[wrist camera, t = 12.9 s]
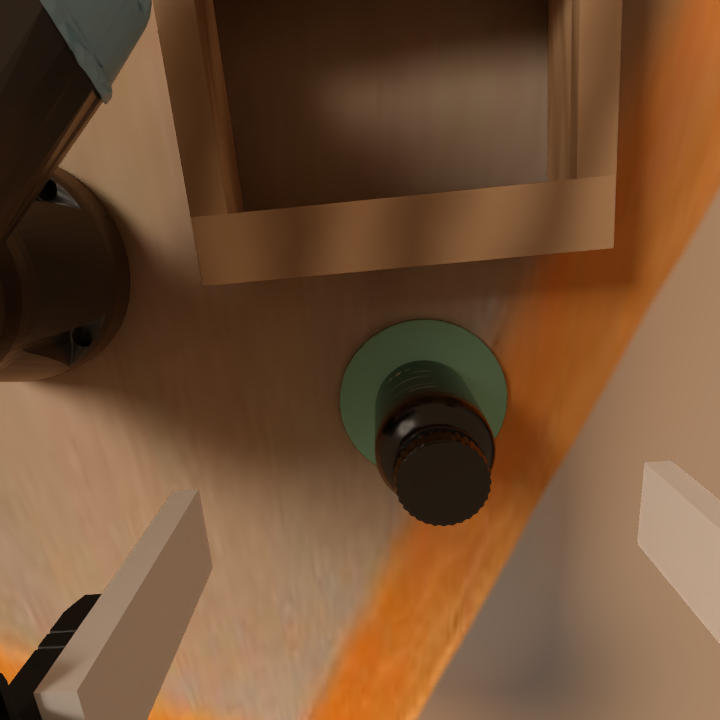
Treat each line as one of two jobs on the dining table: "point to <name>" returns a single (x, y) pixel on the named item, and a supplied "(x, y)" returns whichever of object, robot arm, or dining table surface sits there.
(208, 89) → the cover box
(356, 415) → the mat
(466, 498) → the supplement bottle
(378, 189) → the dining table surface
